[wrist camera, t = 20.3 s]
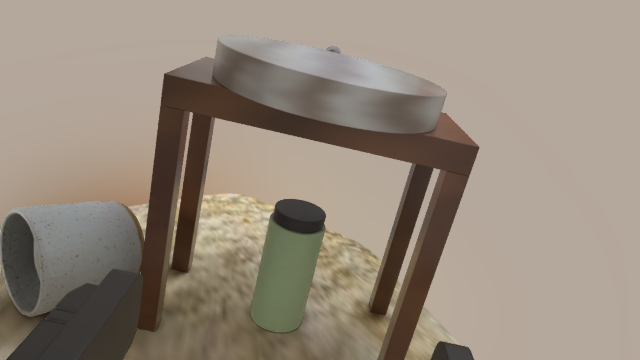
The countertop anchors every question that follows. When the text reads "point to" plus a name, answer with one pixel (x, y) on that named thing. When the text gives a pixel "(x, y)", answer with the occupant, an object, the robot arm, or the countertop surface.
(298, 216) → the spice bottle
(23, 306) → the ceramic mug
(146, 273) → the pan stand
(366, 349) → the countertop surface
